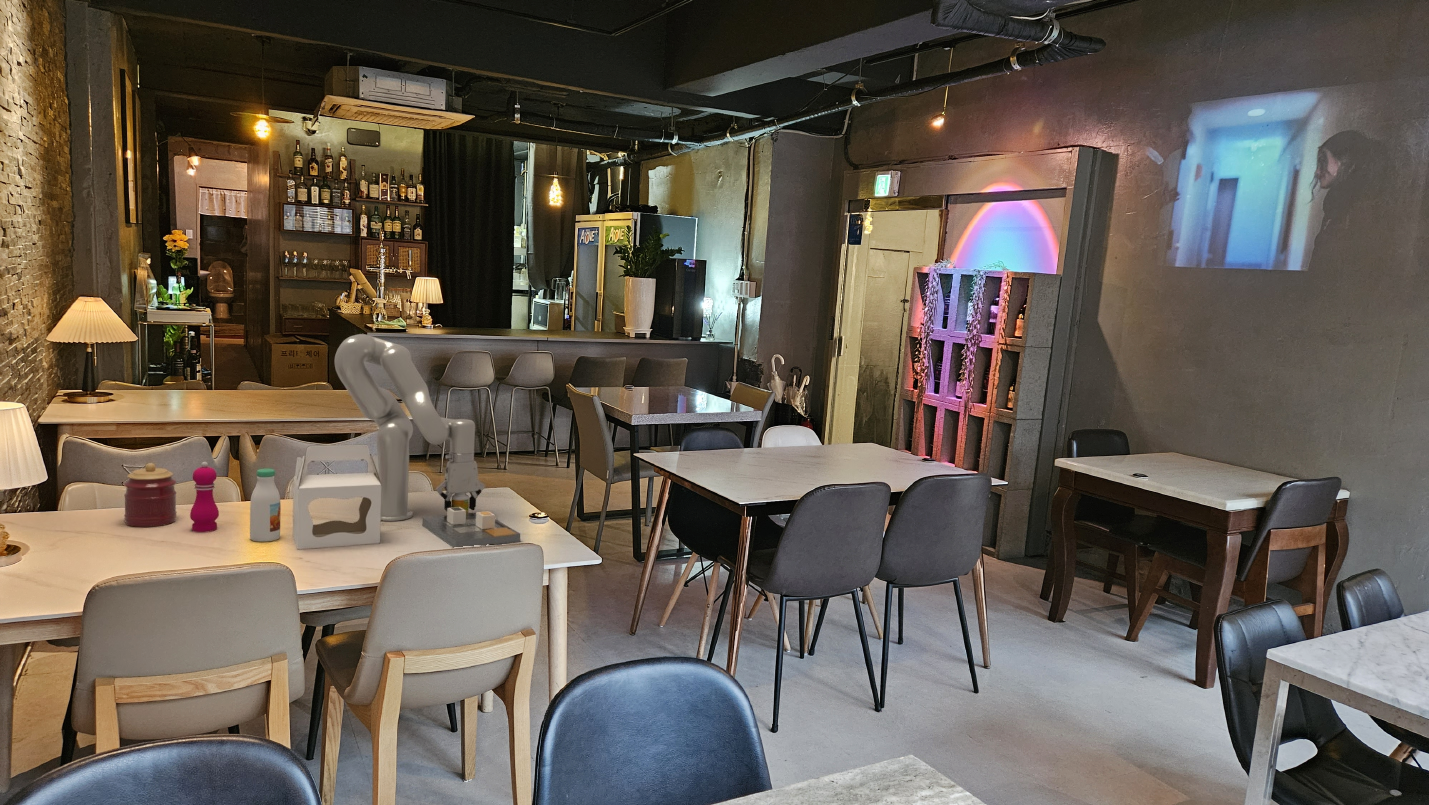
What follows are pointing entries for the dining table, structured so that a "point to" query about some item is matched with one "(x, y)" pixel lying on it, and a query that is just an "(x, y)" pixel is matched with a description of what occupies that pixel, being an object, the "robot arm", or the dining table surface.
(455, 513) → the block
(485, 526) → the block
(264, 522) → the milk bottle
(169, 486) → the canister
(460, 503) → the supplement bottle
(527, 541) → the dining table surface
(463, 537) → the panel
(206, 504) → the pepper mill
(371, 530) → the gable box
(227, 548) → the dining table surface
